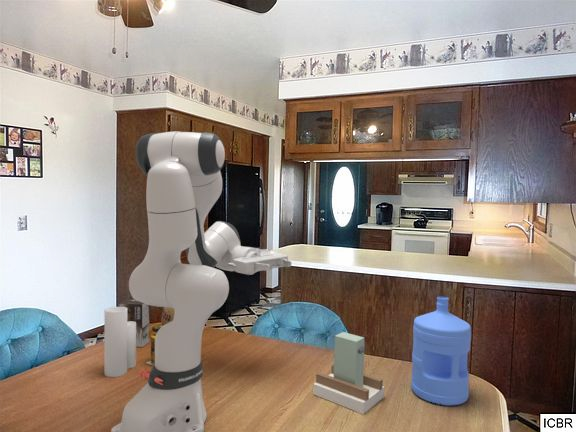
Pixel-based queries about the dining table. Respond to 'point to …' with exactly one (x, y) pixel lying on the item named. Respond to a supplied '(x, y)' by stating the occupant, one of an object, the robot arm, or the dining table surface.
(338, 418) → the dining table surface
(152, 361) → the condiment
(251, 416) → the dining table surface
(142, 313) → the coffee box
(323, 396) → the cleat board
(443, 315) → the water jug
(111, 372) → the vase
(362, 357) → the sage cabinet
